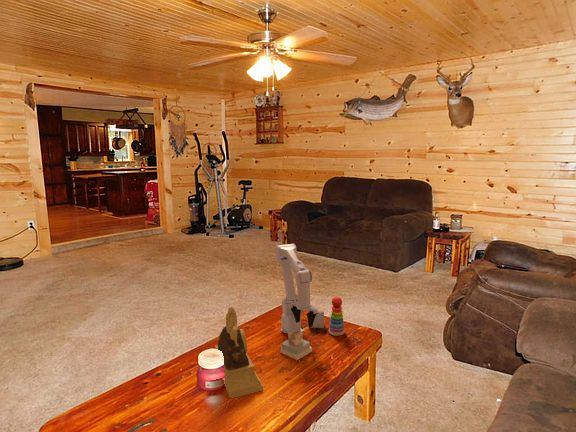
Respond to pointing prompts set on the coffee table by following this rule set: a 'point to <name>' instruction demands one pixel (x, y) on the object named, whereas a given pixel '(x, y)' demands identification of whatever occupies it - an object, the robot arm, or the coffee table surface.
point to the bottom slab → (298, 354)
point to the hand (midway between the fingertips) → (304, 324)
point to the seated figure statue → (237, 359)
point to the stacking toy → (336, 318)
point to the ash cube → (295, 337)
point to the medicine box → (319, 319)
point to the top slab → (295, 347)
